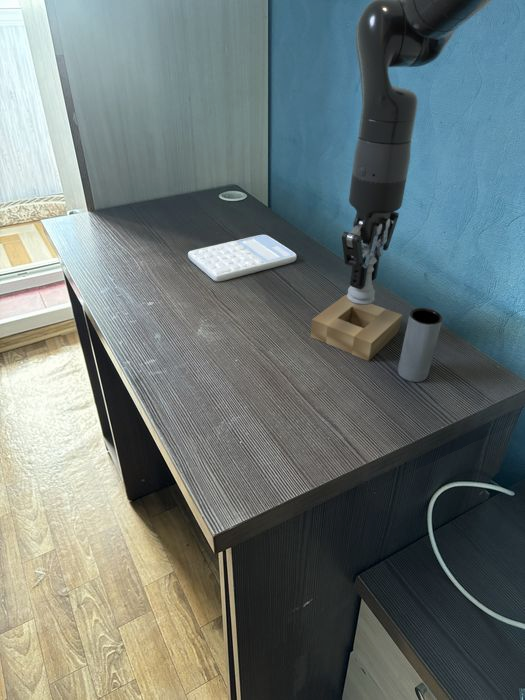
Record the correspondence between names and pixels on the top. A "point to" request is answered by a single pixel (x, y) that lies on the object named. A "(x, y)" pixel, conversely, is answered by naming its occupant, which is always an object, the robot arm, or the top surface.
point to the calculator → (241, 257)
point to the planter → (419, 344)
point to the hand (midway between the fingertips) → (363, 282)
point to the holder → (356, 327)
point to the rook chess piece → (366, 293)
